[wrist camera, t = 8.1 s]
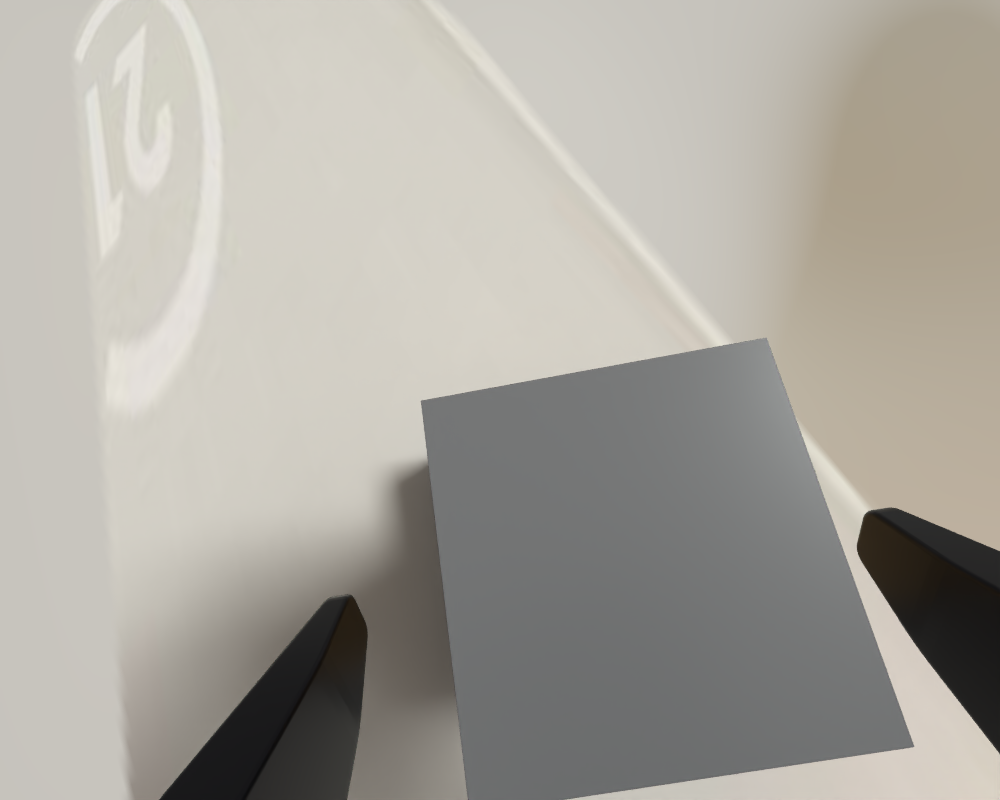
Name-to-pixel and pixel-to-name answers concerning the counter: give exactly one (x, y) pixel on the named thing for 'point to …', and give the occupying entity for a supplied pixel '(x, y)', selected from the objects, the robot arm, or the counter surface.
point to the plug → (646, 582)
